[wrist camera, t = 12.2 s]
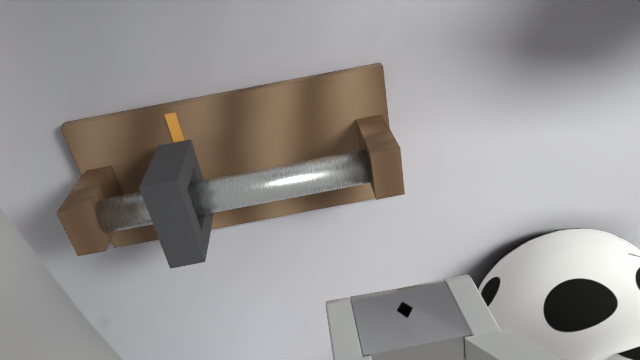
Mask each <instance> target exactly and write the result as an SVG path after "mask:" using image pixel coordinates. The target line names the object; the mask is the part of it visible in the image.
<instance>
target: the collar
mask: <svg viewBox="0 0 640 360" xmlns="http://www.w3.org/2000/svg"><path fill="white" fill-rule="evenodd" d="M200 180H204V179H203V176H202V173H201V170H200V167H199V163H198V160H197V157H196V154H195V151H194V148H193V144H192V141H191V139H190V140H185V141H179V142H174V143H169V144H164V145H159V146H158V148H157V150H156V152H155V154H154V156H153V158H152V161H151V163H150V165H149V167H148V169H147V171H146V173H145V176H144V178H143V180H142V182H141V184H140V186H139V189H140V192H141V194H142V197H143V199H144V202H145V205H146V207H147V210H148V212H149V215H150V217H151V220H152V223H153V225H154V228H155V230H156V233H157V235H158V238H159V241H160V243H161V246H162V248H163V251H164V253H165V256H166V259H167V261H168V264H169V266H170V268H175V267H180V266H186V265H191V264H196V263H201V262H205V259H206V254H207V248H208V243H209V237H210V232H211V226H212V220H213V215H214V213H209V214H204V215H199V216H196V213H195V210H194V207H193V205H192V202H191V199H190V196H189V193H188V190H187V189H188V186H189V183H190V182H195V181H200Z"/></svg>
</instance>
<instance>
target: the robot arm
mask: <svg viewBox="0 0 640 360" xmlns="http://www.w3.org/2000/svg"><path fill="white" fill-rule="evenodd" d="M350 299H351V300H350ZM326 312H327V319H328V325H329V332H330V339H331V346H332V352H333V359H334V360H562V359H561V358H559V357H557V356H555V355H553V354H552V353H550V352H548V351H546V350H545V349H543V348H541V347H539V346H537V345H536V344H534V343H532V342H530V341H529V340H527V339H525V338H523V337H521V336H520V335H518V334H516V333H514V332H513V331H511V330H509V329H506V330H500V328H499V326H498V324H497V322H496V321H495V319H494V317H493V315H492V314H491V312H490V310H489V308H488V307H487V305H486V303H485V301H484V300H483V298H482V296H481V294H480V292H479V291H478V289H477V287H476V285H475V284H474V282H473V280H472V278H471V277H470V276H469V275H467V274H466V275H461V276H456V277H452V278H447V279H443V280H439V281H434V282H429V283H424V284H419V285H414V286H409V287H404V288H399V289H393V290H387V291H381V292H375V293H369V294H363V295H357V296H351V297H350V298H349V297H348V298H342V299H336V300H330V301H326Z"/></svg>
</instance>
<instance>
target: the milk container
mask: <svg viewBox="0 0 640 360" xmlns="http://www.w3.org/2000/svg"><path fill="white" fill-rule="evenodd" d="M478 291H479V292H480V294H481V296H482V298H483V300H484V301H485V303H486V305H487V307H488V308H489V310H490V312H491V314H492V315H493V317H494V319H495V321H496V322H497V324H498V326H499V328H500V330H506V329H509V330H511V331H513V332H514V333H516V334H518V335H520V336H521V337H523V338H525V339H527V340H529V341H530V342H532V343H534V344H536V345H537V346H539V347H541V348H543V349H545V350H546V351H548V352H550V353H552V354H553V355H555V356H557V357H559V358H561V359H562V360H640V249H638V248H637V247H635V246H634V245H632V244H630V243H629V242H627V241H625V240H624V239H622V238H620V237H618V236H616V235H613V234H611V233H608V232H604V231H600V230H594V229H588V228H574V229H562V230H556V231H552V232H549V233H546V234H543V235H540V236H537V237H534V238H532V239H530V240H527V241H526V242H524V243H522V244H520V245H519V246H517V247H516V248H514V249H513V250H511V251H510V252H508V253H507V254H506V255H504V256H503V257H502V258H501V259H500V260H499V261H498V262H497V263H496V264H495V265H494V266H493V267H492V268H491V269H490V271H489V272H488V273H487V274H486V276H485V277H484V278H483V280H482V282H481V284H480V286H479V288H478Z"/></svg>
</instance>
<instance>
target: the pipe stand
mask: <svg viewBox="0 0 640 360" xmlns="http://www.w3.org/2000/svg"><path fill="white" fill-rule="evenodd" d="M60 128H61V130H62V133H63V135H64V137H65V139H66V142H67V144H68V146H69V148H70V150H71V153H72V155H73V157H74V159H75V162H76V164H77V166H78V168H79V171H80V173H81V175H82V177H81V179H80V180H79V181H78V183H77V184H76V186H75V187H74V189H73V190H72V191H71V193H70V194H69V196H68V197H67V198H66V200H65V201H64V203H63V204H62V206H61V207H60V208H59V210H58V211H57V215H58V217H59V219H60V221H61V223H62V225H63V227H64V229H65V231H66V233H67V235H68V237H69V239H70V241H71V243H72V245H73V247H74V249H75V251H76V253H77V255H78V256H81V255H87V254H92V253H97V252H103V251H106V250H107V248H108V246H109V244H110V242H112V245H113V247H114V248H116V247H121V246H126V245H132V244H137V243H142V242H148V241H153V240H158V239H159V238H158V235H157V233H156V230H155V228H154V225H153V223H152V220H151V217H150V215H149V212H148V210H147V207H146V205H145V202H144V199H143V197H142V194H141V192H140V189H139V186H140V184H141V182H142V180H143V178H144V176H145V173H146V171H147V169H148V167H149V165H150V163H151V161H152V158H153V156H154V154H155V152H156V150H157V148H158V146H159V145H164V144H169V143H174V142H179V141H185V140H190V139H191V141H192V144H193V148H194V151H195V154H196V157H197V160H198V163H199V167H200V170H201V173H202V176H203V179H204V180H200V181H195V182H190V183H189V186H188V189H187V190H188V193H189V196H190V199H191V202H192V205H193V207H194V210H195V213H196V216H199V215H204V214H209V213H214V215H213V220H212V226H211V229H216V228H221V227H227V226H232V225H237V224H242V223H248V222H253V221H258V220H264V219H269V218H274V217H279V216H285V215H290V214H295V213H300V212H306V211H311V210H316V209H322V208H327V207H332V206H337V205H343V204H348V203H353V202H358V201H364V200H369V199H374V198H376V200H377V199H382V198H387V197H393V196H398V195H403V194H405V193H404V183H403V172H402V162H401V152H400V147H399V145H398V143H397V141H396V139H395V138H394V136H393V134H392V132H391V131H390V128H389V119H388V110H387V100H386V91H385V81H384V72H383V66H382V64H381V63H376V64H371V65H366V66H360V67H355V68H350V69H344V70H339V71H334V72H329V73H323V74H318V75H313V76H307V77H302V78H297V79H292V80H286V81H281V82H276V83H270V84H265V85H260V86H255V87H249V88H244V89H239V90H233V91H228V92H223V93H217V94H212V95H207V96H202V97H196V98H191V99H186V100H180V101H175V102H170V103H165V104H159V105H154V106H149V107H143V108H138V109H133V110H128V111H122V112H117V113H112V114H106V115H101V116H96V117H91V118H85V119H80V120H75V121H69V122H65V123H64V124H63V125H62V126H61V127H60Z"/></svg>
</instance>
